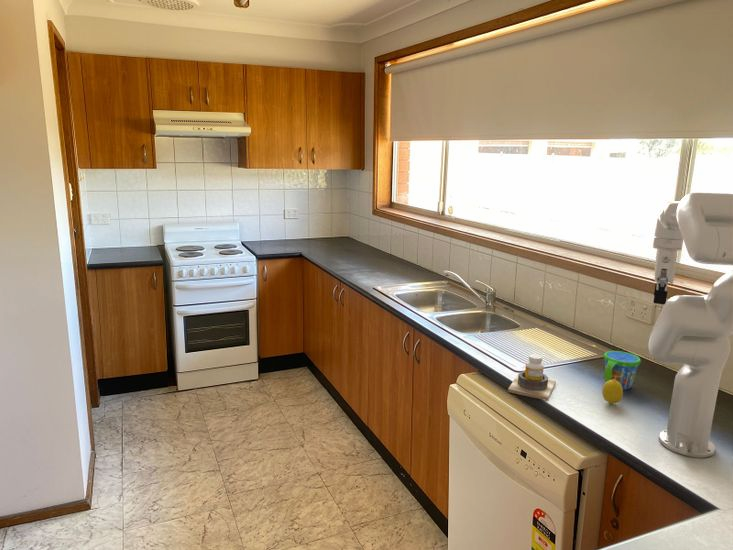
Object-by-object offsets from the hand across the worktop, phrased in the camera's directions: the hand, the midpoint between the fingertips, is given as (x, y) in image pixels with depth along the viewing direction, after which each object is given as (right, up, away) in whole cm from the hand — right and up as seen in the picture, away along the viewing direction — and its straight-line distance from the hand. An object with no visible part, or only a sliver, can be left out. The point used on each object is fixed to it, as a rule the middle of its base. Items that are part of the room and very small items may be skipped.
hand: (659, 300), depth 167 cm
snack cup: (-7, -28, +12) cm, 32 cm away
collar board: (-36, -28, +9) cm, 46 cm away
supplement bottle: (-36, -27, +8) cm, 46 cm away
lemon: (-15, -31, -1) cm, 35 cm away
